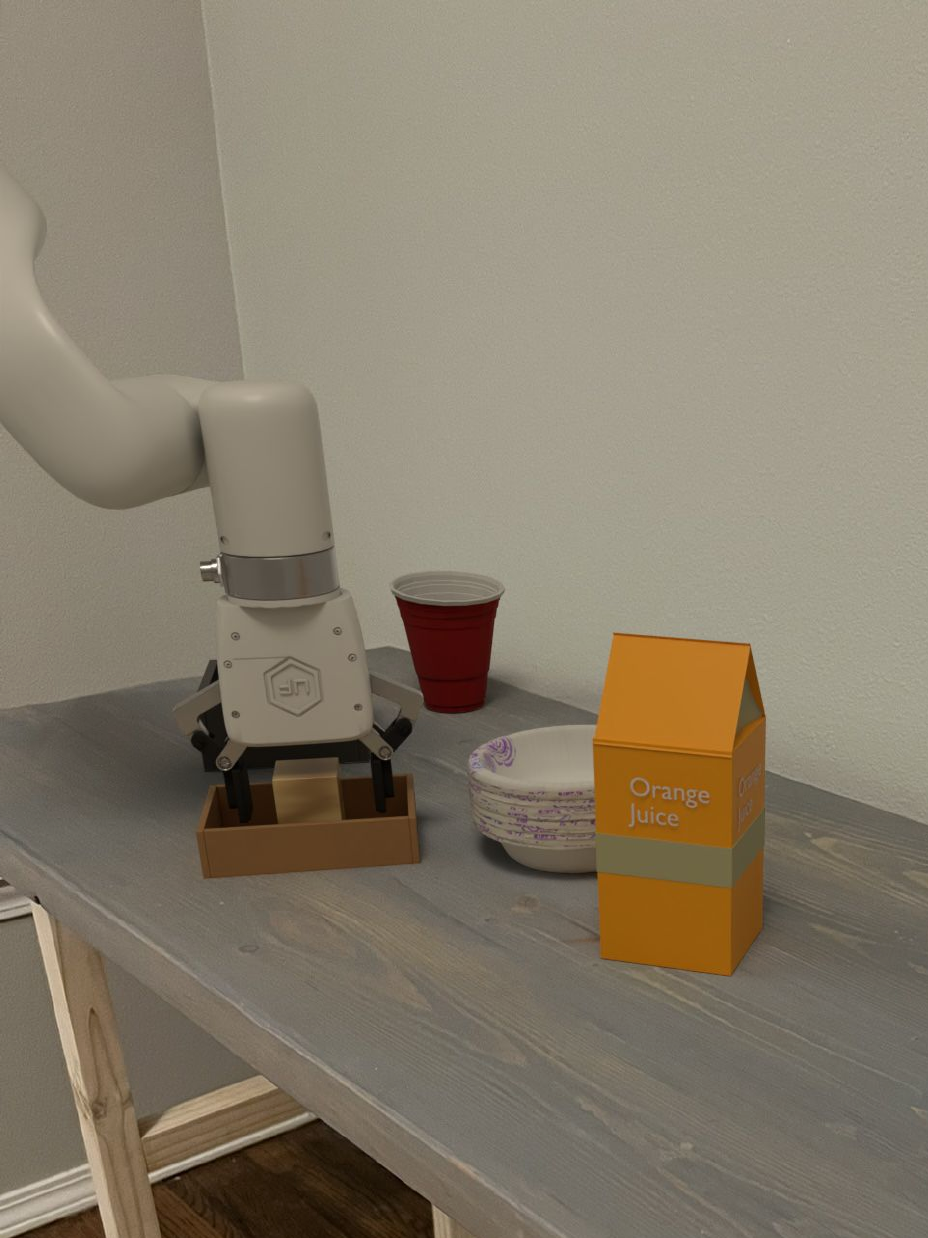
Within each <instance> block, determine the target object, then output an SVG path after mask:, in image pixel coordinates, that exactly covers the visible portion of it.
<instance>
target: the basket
mask: <svg viewBox="0 0 928 1238" xmlns="http://www.w3.org/2000/svg"><path fill="white" fill-rule="evenodd" d="M202 675H203V676H202V678H201V680H200V683H199V686H198V688H197V691H196V693H197V692H199V691H200V690H202V689H204V688H205V687H207V686H209V685H210V684H212V683H214V682H215V681H217V680H219V676H218V666H217V659H209V660H208V663H207V666H206V668H205V671H204V673H203V674H202ZM199 718H200V720H201V721H202V724H203V725H204V726H205V728H207V729H208V730H210V731H211V732H212V733H214V734H215V735H216V736H218V737H219V738H220V739H222V740H223V741H225V740H226V738H227V737H228V734H227V731H226V727H225V722H224V716H223V710H222V702H221V703H219V704H218V705H216V706H214V707H213V708H211V709H209V710H207V711H206V712H204V713H202V714H201V715H199ZM201 756H202V758H201V759H202V765H203V770H204V773H214V772H215V773H216V772H223V771H222V770H220V769H219V768H218V767H217V765H216V763H215V762H213V761H212V760H210V759H209V758H208V757H206V756H205V755H204V754H202V753H201ZM242 757H243V761H246V765H247V771H250V770H265V769H274V768H275V763H276V761H281V760H299V759H317V758H334V757H338V759H339V765H352V764H353V765H354V764H369V763H370V762H371V750H370V749H369V748H368V747H367V746H366V745H365V744H363V743H362V742H361V741H360V740H359V739H357V740H352V741H344V742H331V743H317V744H301V745H285V746H268V747H247V748H246V749H245V751H244V752H243V753H242V755H241V758H242Z"/></svg>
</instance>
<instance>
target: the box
mask: <svg viewBox="0 0 928 1238" xmlns="http://www.w3.org/2000/svg"><path fill="white" fill-rule="evenodd" d="M392 774H393V773H392ZM393 783H394V793H395V797H391V798H386V813H379V811H377V812H376V806H375V797H374V789H373V781H372V775H361V776H360V775H359V776H345V777H342V776H341V784H342V792H343V801H344V809H345V818H346V820H337V821H322V822H306V823H291V824H278V821H277V813H276V806H275V799H274V792H273V785H272V781H259V782H249V784H250V790H251V797H252V803H253V812H252V816H251V821H248V823H240V820H239V814H238V809H229V805H228V800H227V794H226V788H225V783H224V784H223V783H222V784H210V785H209V787H208V790H207V793H206V798H205V800H204V804H203V807H202V811H201V814H200V818H199V821H198V823H197V828H196V830H195V836H196V841H197V847H198V853H199V860H200V865H201V871H202V878H203V879H204V880H210V879H221V878H222V879H223V878H236V877H237V878H238V877H252V876H253V877H254V876H265V875H266V876H267V875H279V874H281V875H282V874H293V873H295V874H296V873H306V872H307V873H309V872H321V871H335V870H348V869H349V870H350V869H363V868H378V867H379V868H380V867H392V866H394V867H395V866H407V865H420V864H421V861H420V859H421V858H420V846H419V845H420V844H419V830H418V815H417V814H418V813H417V802H416V794H415V792H416V791H415V782H414V774H413V773H412V772H411V773H396V774H395V773H394V774H393Z"/></svg>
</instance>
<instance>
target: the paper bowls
mask: <svg viewBox="0 0 928 1238" xmlns="http://www.w3.org/2000/svg"><path fill="white" fill-rule="evenodd" d="M596 726H597V724H565V725H564V724H563V725H552V726H545V727H538V728H532V729H526V730H521V731H517V732H512V733H508V734H505V735H502V736H499V737H496V738H493V739H491V740H489V741H487V742H485V743H483V744H481V745H479V746H478V747H476V748H475V749H474V750H473V752H471V754H470V755H469V757H468V759H467V761H466V769H467V779H468V780H467V782H468V783H467V785H468V793H469V801H470V803H469V804H470V806H469V807H470V809H471V810H470V811H471V817H472V822H473V825H474V827H475V829H476V830H478V832H480V833H481V834H482V835H483V836H486V837H487V838H490V839H492V840H493V841H496V842H499V843H501V845H502V847H503V848H504V850H505V851H506V854H508V856H509V857H510V858H511V859H512V860H514V861H515V862H517V863H518V864H520V865H521V866H524V867H527V868H530V869H533V870H538V871H542V872H549V873H559V874H585V873H595V872H596V873H597V868H596V842H595V833H596V818H595V792H594V765H593V738H594V737H595V732H596Z"/></svg>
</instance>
